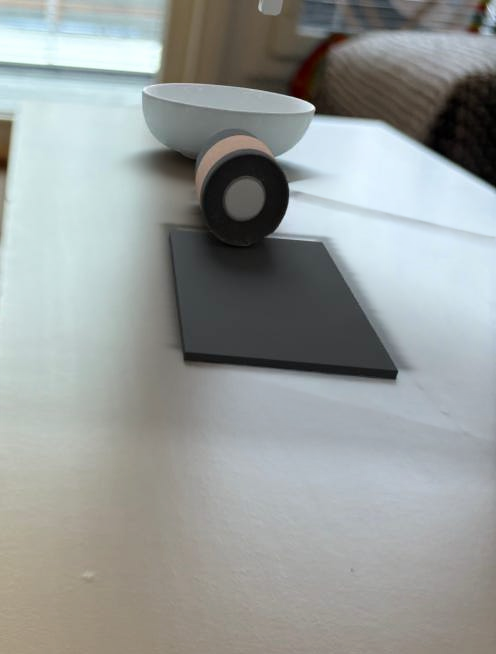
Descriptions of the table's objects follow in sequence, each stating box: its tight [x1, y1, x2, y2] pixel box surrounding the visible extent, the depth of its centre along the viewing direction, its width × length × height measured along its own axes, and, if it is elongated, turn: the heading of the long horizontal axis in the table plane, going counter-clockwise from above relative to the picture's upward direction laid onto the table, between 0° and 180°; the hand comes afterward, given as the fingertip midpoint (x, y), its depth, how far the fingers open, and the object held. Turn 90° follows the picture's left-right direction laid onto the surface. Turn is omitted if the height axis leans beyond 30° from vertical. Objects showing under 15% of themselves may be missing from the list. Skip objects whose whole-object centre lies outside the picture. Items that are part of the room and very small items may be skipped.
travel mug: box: [194, 128, 290, 246], centre depth 92 cm, size 8×8×20 cm
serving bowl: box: [141, 82, 316, 161], centre depth 120 cm, size 21×21×7 cm
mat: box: [168, 229, 399, 380], centre depth 77 cm, size 32×14×1 cm, turn 174°
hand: (268, 14), depth 90 cm, fingers closed
